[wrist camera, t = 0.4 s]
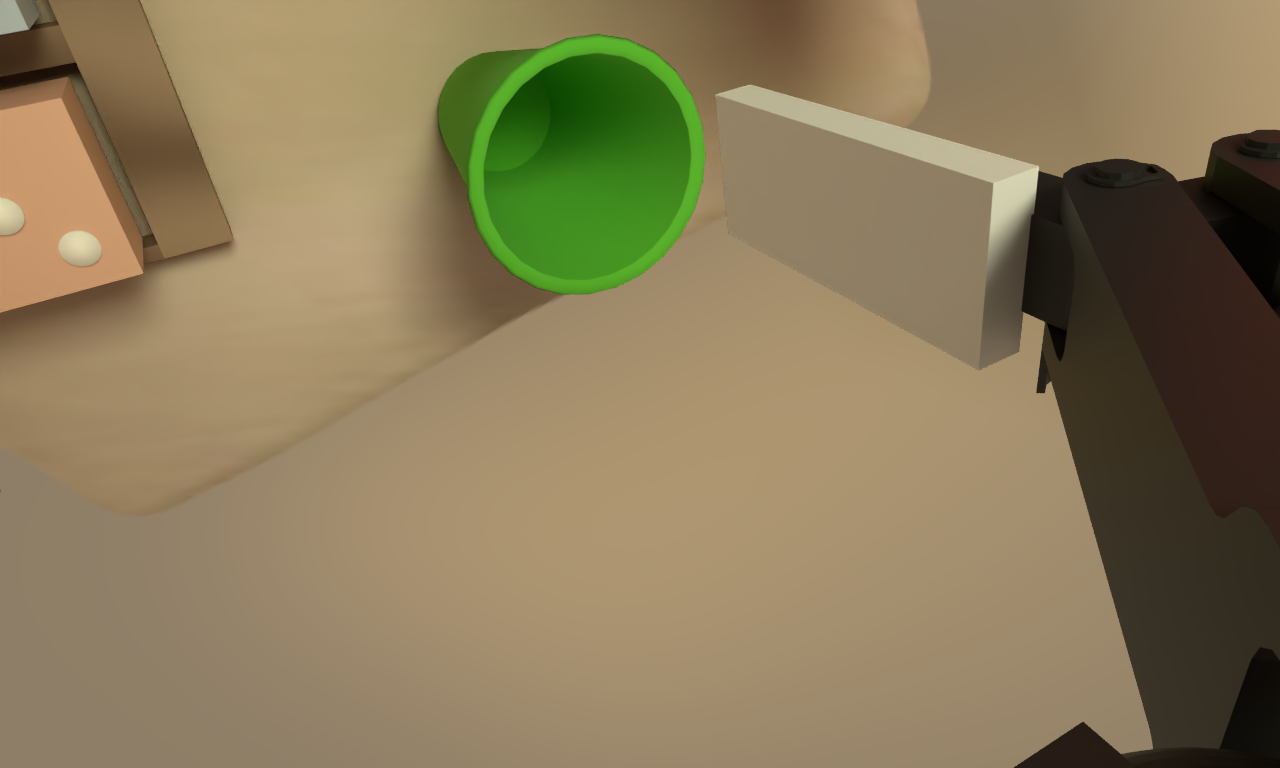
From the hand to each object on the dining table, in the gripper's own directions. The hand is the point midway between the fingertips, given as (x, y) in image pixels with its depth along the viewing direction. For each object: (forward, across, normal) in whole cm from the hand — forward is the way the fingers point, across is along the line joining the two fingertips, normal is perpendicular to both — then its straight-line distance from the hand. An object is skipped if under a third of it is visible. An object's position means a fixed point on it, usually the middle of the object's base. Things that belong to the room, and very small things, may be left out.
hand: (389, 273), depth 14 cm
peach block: (+23, -9, -2) cm, 25 cm away
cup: (+25, +9, -4) cm, 27 cm away
